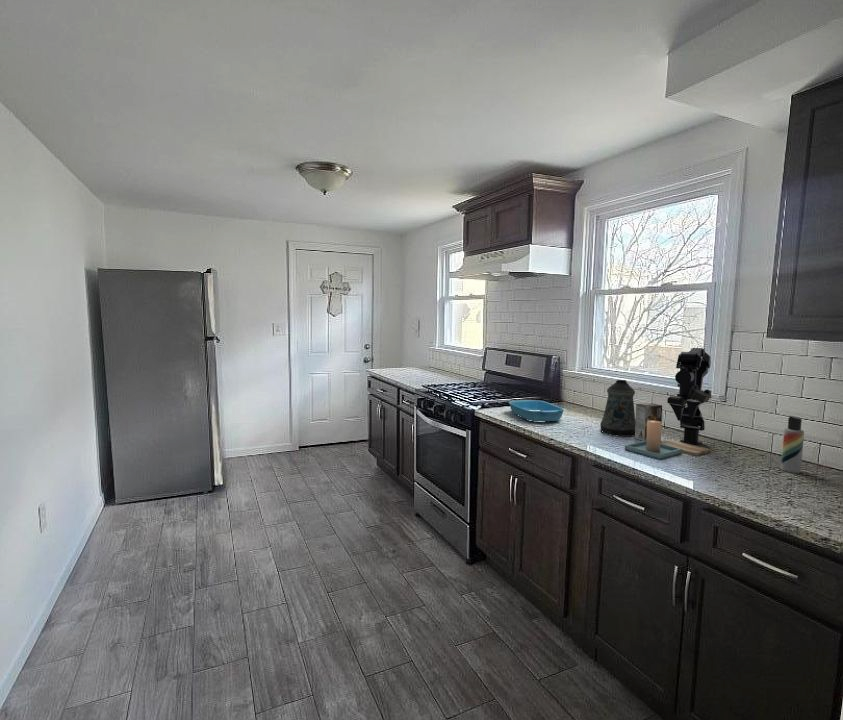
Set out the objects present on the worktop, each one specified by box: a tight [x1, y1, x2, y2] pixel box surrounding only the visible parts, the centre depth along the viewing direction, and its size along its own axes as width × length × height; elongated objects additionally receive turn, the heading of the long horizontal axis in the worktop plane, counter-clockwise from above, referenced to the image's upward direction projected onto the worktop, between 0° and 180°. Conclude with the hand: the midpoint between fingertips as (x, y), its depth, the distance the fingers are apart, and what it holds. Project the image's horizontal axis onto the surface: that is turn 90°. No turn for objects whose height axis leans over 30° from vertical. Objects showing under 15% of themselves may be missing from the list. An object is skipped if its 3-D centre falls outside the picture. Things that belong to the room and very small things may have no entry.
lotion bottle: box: [780, 415, 805, 474], centre depth 169 cm, size 6×6×20 cm
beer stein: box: [599, 379, 636, 437], centre depth 226 cm, size 16×19×25 cm
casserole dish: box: [508, 399, 565, 422], centre depth 258 cm, size 37×22×7 cm, turn 12°
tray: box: [624, 440, 682, 460], centre depth 193 cm, size 15×15×2 cm
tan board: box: [660, 439, 712, 457], centre depth 197 cm, size 11×17×1 cm, turn 32°
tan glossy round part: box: [646, 420, 663, 452], centre depth 192 cm, size 5×5×12 cm
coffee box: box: [634, 402, 663, 442], centre depth 212 cm, size 9×6×16 cm
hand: (685, 419), depth 195 cm, fingers open, 9 cm apart
